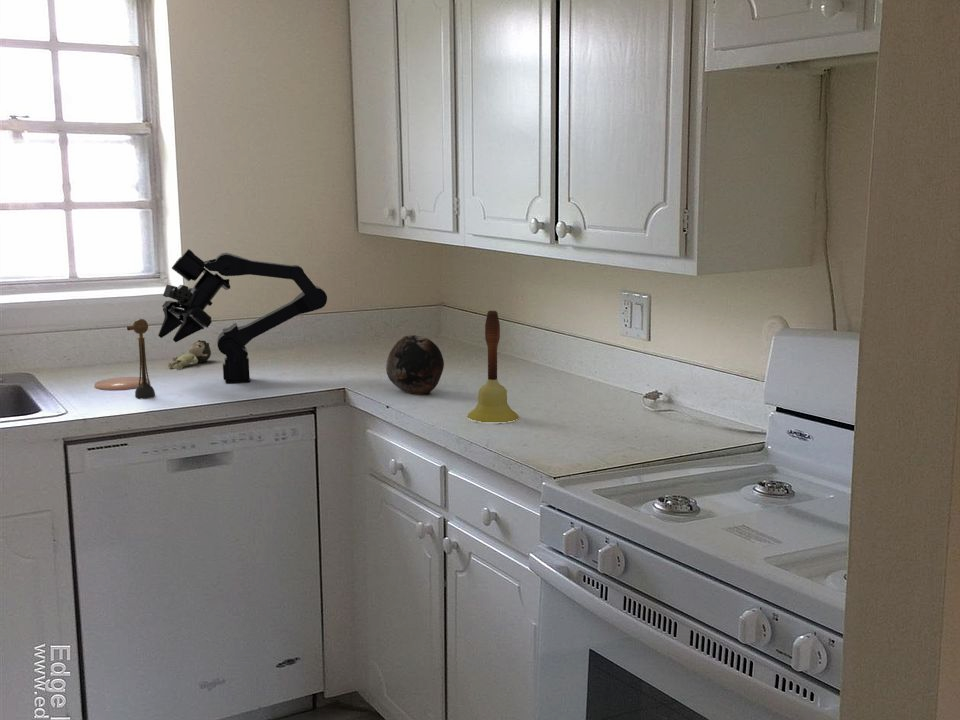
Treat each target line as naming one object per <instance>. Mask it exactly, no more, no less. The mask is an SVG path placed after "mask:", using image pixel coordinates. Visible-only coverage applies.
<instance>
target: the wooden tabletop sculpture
mask: <svg viewBox="0 0 960 720" xmlns="http://www.w3.org/2000/svg"><path fill="white" fill-rule="evenodd" d="M126 330H127V331H134V332H135V334H139V335H138V336H139V337H137V340H138V350H139V352H138V353H139V377H140V379H139V386H138V387H137V388H135V390H134V396H135V399H140V398H143V399H150V398H151V397H152V398H154V397H156V392H155V389H154V387H153V386H152V385H151V383H150V382H149V380H150V378H149V373H148V367H147V357H146V343H145V342H146V341H145V337H144V334H145V333H146V332H147V331H148V330H149V324H148V321H147V320H145V319H144V318H138V319H136V320H135V321H133V324H132V325H128V326H127V327H126ZM141 377H142V383H141V384H140V382H141ZM146 378H147V379H148V383H149V384H148V383H147V379H146Z"/></svg>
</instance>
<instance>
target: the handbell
mask: <svg viewBox="0 0 960 720" xmlns="http://www.w3.org/2000/svg"><path fill="white" fill-rule="evenodd" d="M484 323H485V324H484V329H485V330H484V340H485V343H486V345H487V380H486V383H485V384H483V385H481V386H480V387H479V389H478V396H477V404H476V406H475V408H473V409H472V410H471V411H470V412H469V413H468V414H467V415H468V416H467V415H466V417H468V418H470V419H472V420H476V421H481V422H508V421H513V420H516V419H518V418H519V419H520V416H519V414H518V413H516V412H515V411H514V410H513V409H512V408H511V407H510V405H509V403H508V394H507V388H506V387H505V386H503V385H501V384H500V382H499V380H498V348H499V347H498V345H499V343H500V337H501V333H500V332H501V331H500V330H501V328H500V327H501V326H500V319H499V314H498V311H497V310H488V312H487V313H486V319H485V322H484ZM519 419H518V420H519Z"/></svg>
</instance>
